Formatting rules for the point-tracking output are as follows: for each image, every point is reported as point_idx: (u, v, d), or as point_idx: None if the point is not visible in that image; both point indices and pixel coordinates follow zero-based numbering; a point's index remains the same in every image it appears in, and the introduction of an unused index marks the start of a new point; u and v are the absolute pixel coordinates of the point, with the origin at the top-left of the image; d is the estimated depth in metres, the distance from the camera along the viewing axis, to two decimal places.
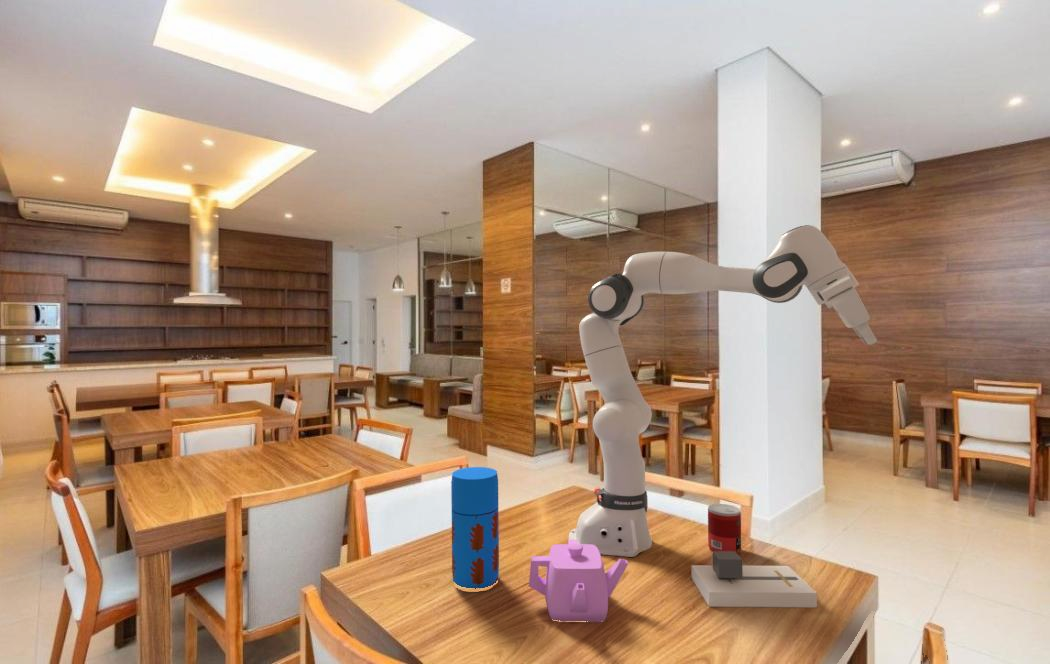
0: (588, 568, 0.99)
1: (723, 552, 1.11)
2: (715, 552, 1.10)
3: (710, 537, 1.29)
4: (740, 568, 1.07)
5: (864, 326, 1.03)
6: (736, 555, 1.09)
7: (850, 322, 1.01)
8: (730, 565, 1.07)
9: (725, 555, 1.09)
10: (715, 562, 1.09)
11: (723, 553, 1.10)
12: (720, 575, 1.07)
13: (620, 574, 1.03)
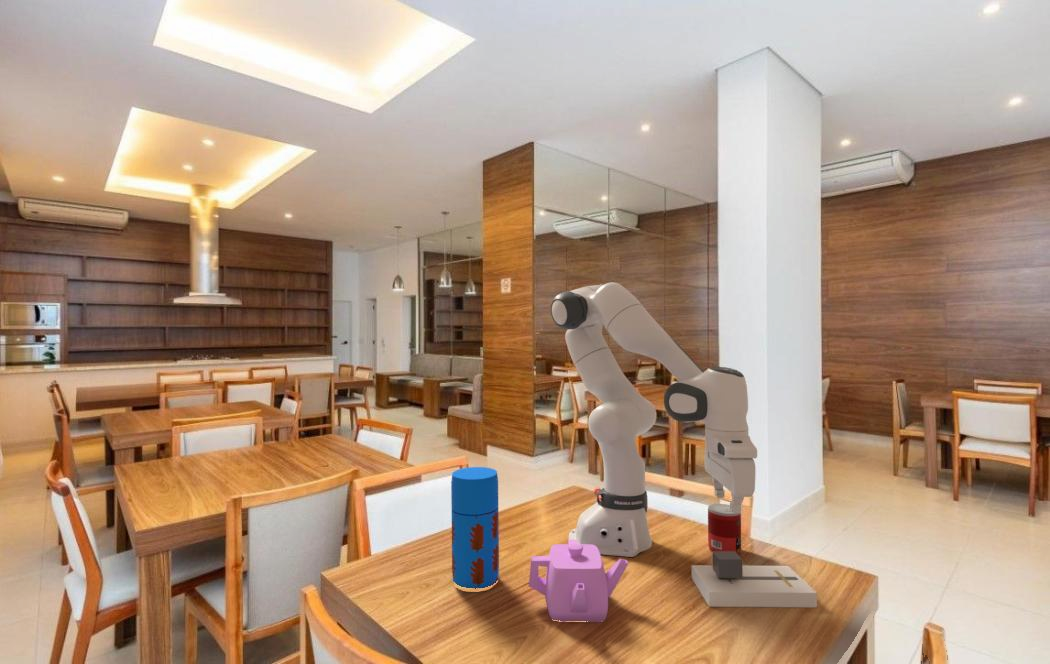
0: (588, 568, 0.99)
1: (723, 552, 1.11)
2: (715, 552, 1.10)
3: (710, 537, 1.29)
4: (740, 568, 1.07)
5: None
6: (736, 555, 1.09)
7: (737, 492, 0.99)
8: (730, 565, 1.07)
9: (725, 555, 1.09)
10: (715, 562, 1.09)
11: (723, 553, 1.10)
12: (720, 575, 1.07)
13: (620, 574, 1.03)
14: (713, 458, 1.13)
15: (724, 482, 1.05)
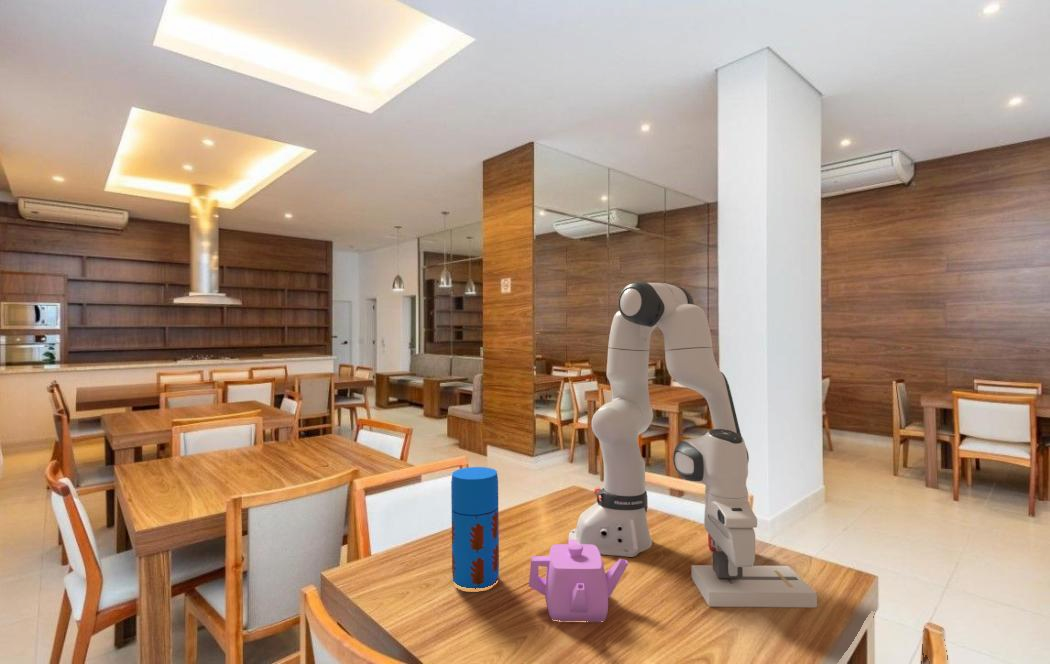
0: (588, 568, 0.99)
1: (723, 552, 1.11)
2: (715, 552, 1.10)
3: (710, 537, 1.29)
4: (740, 568, 1.07)
5: None
6: None
7: (737, 562, 0.99)
8: None
9: (725, 555, 1.09)
10: (715, 562, 1.09)
11: (723, 553, 1.10)
12: (720, 575, 1.07)
13: (620, 574, 1.03)
14: None
15: (724, 548, 1.05)
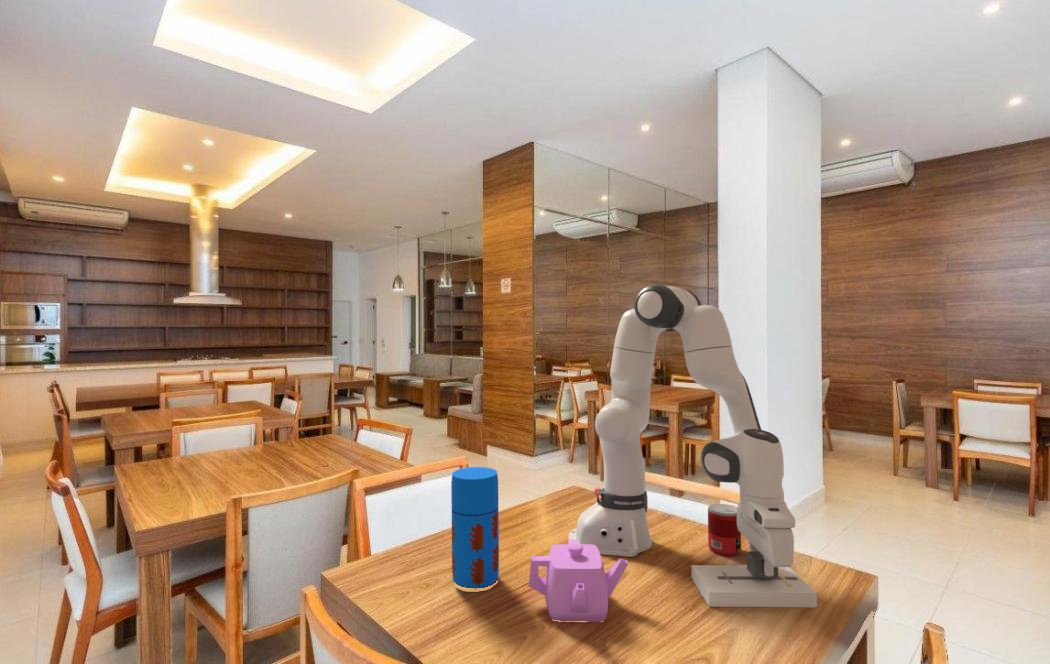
0: (588, 568, 0.99)
1: (758, 552, 1.10)
2: (749, 552, 1.10)
3: (710, 537, 1.29)
4: (776, 568, 1.07)
5: None
6: None
7: (775, 562, 0.99)
8: None
9: (759, 555, 1.09)
10: (749, 562, 1.09)
11: (758, 553, 1.10)
12: (756, 575, 1.07)
13: (620, 574, 1.03)
14: (747, 520, 1.13)
15: (760, 548, 1.05)
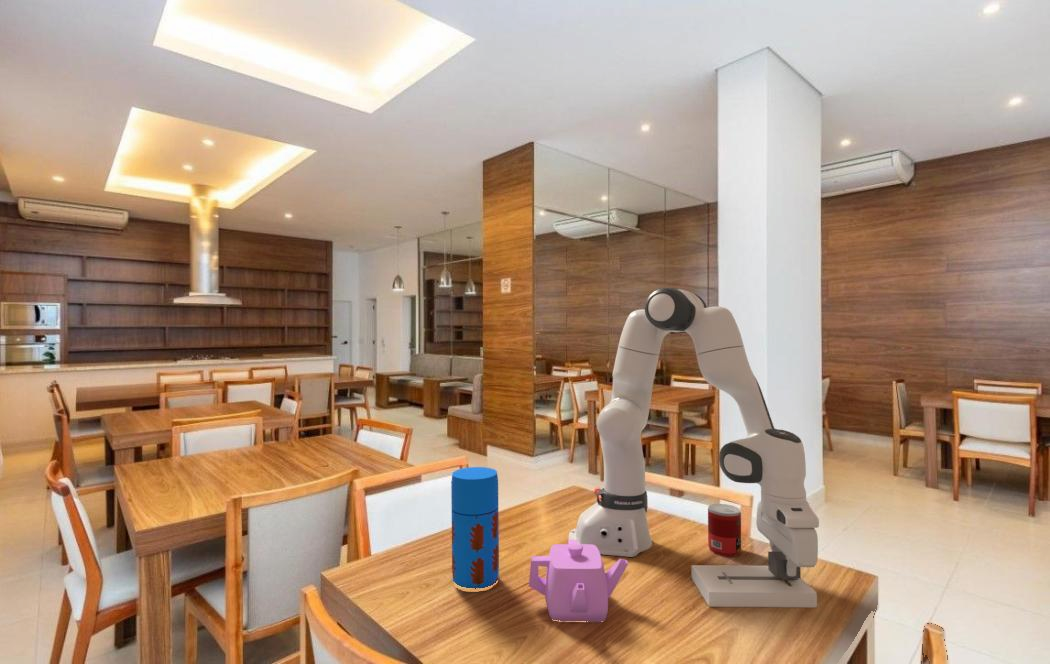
0: (588, 568, 0.99)
1: (779, 552, 1.10)
2: (770, 552, 1.10)
3: (710, 537, 1.29)
4: (798, 568, 1.06)
5: None
6: None
7: (800, 562, 0.99)
8: None
9: (781, 555, 1.09)
10: (771, 562, 1.09)
11: (779, 553, 1.10)
12: (778, 575, 1.07)
13: (620, 574, 1.03)
14: (768, 520, 1.13)
15: (783, 548, 1.05)
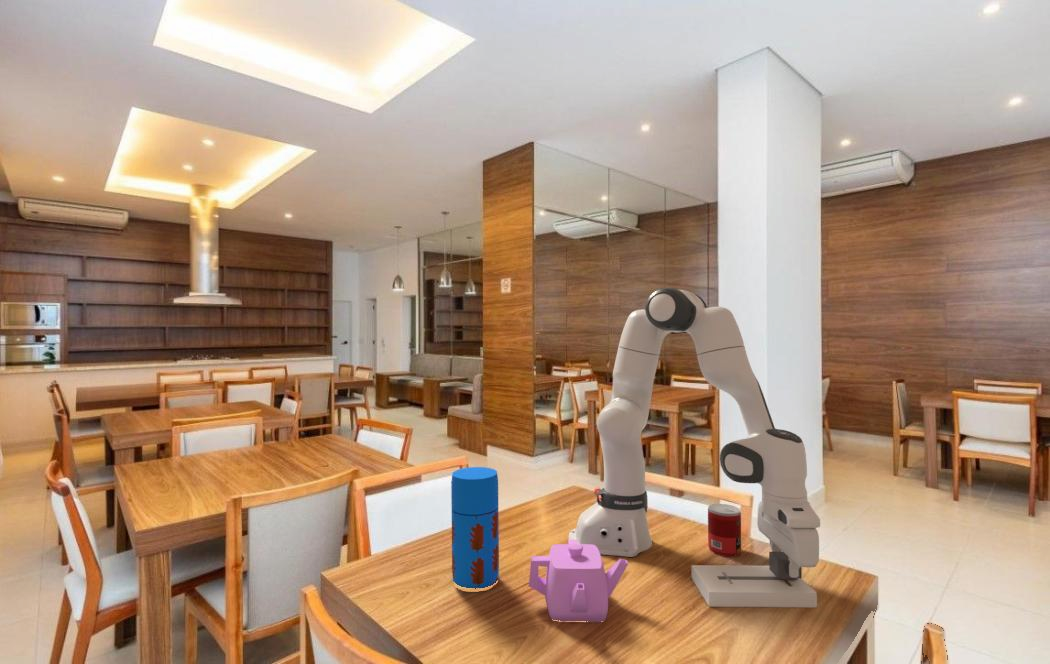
0: (588, 568, 0.99)
1: (780, 552, 1.10)
2: (772, 552, 1.10)
3: (710, 537, 1.29)
4: (799, 568, 1.06)
5: None
6: None
7: (801, 562, 0.99)
8: None
9: (782, 555, 1.09)
10: (772, 562, 1.09)
11: (780, 553, 1.10)
12: (779, 575, 1.07)
13: (620, 574, 1.03)
14: (769, 520, 1.13)
15: (784, 549, 1.05)
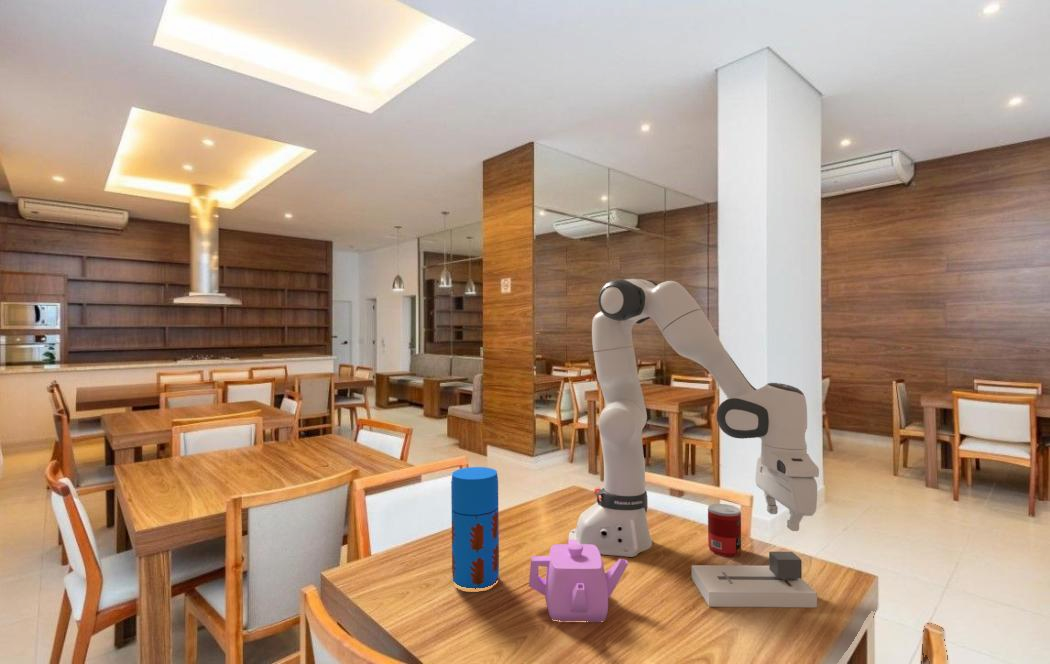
0: (588, 568, 0.99)
1: (780, 552, 1.10)
2: (772, 552, 1.10)
3: (710, 537, 1.29)
4: (799, 568, 1.06)
5: (799, 514, 1.02)
6: (794, 555, 1.08)
7: (798, 510, 0.99)
8: (789, 565, 1.06)
9: (782, 555, 1.09)
10: (772, 562, 1.09)
11: (780, 553, 1.10)
12: (779, 575, 1.07)
13: (620, 574, 1.03)
14: (767, 474, 1.13)
15: (782, 499, 1.05)
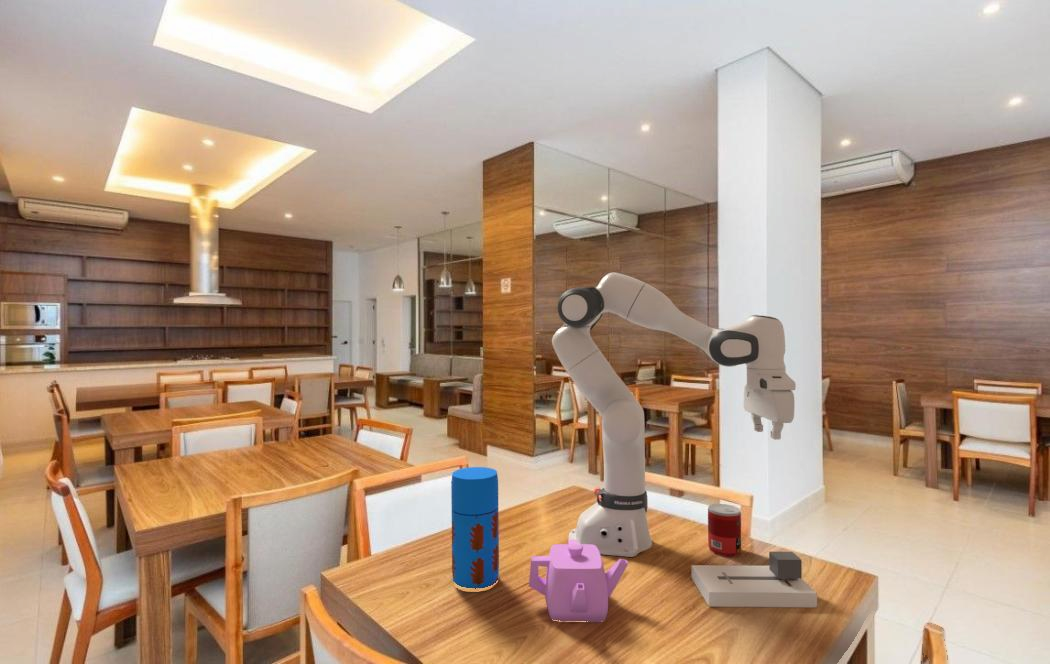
0: (588, 568, 0.99)
1: (780, 552, 1.10)
2: (772, 552, 1.10)
3: (710, 537, 1.29)
4: (799, 568, 1.06)
5: (780, 424, 1.18)
6: (794, 555, 1.08)
7: (779, 418, 1.15)
8: (789, 565, 1.06)
9: (782, 555, 1.09)
10: (772, 562, 1.09)
11: (780, 553, 1.10)
12: (779, 575, 1.07)
13: (620, 574, 1.03)
14: (753, 396, 1.29)
15: (765, 414, 1.21)
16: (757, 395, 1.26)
